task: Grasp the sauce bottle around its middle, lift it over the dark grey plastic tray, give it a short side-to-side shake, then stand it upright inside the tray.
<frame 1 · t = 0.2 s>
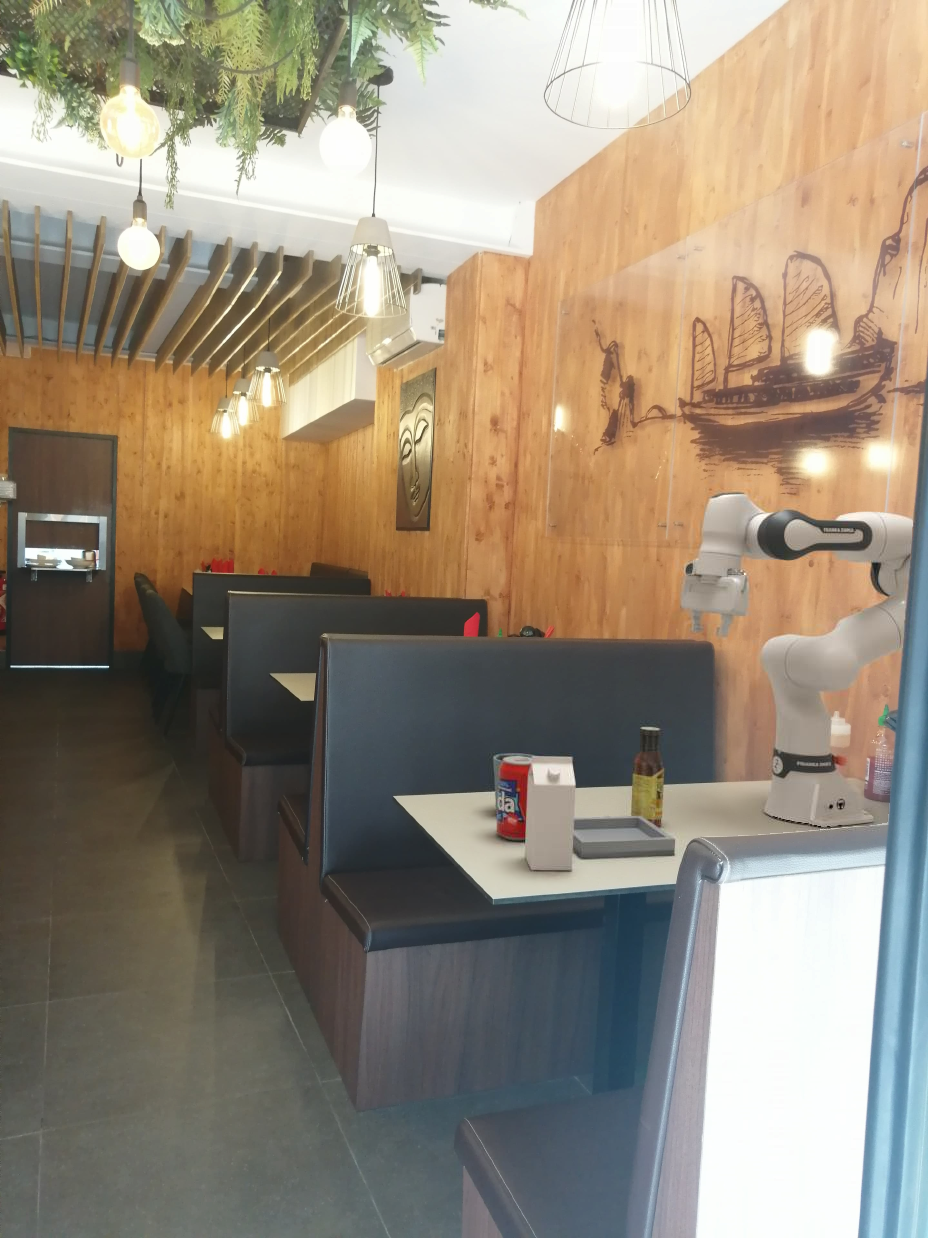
hand: (708, 634, 185), 39 cm above the table, tool pointing down, fingers open, 8 cm apart
sauce bottle: (645, 825, 182), on the table
milk carton: (547, 865, 155), on the table
blue gray cup: (515, 815, 186), on the table
tray: (612, 844, 168), on the table
soda can: (516, 837, 170), on the table
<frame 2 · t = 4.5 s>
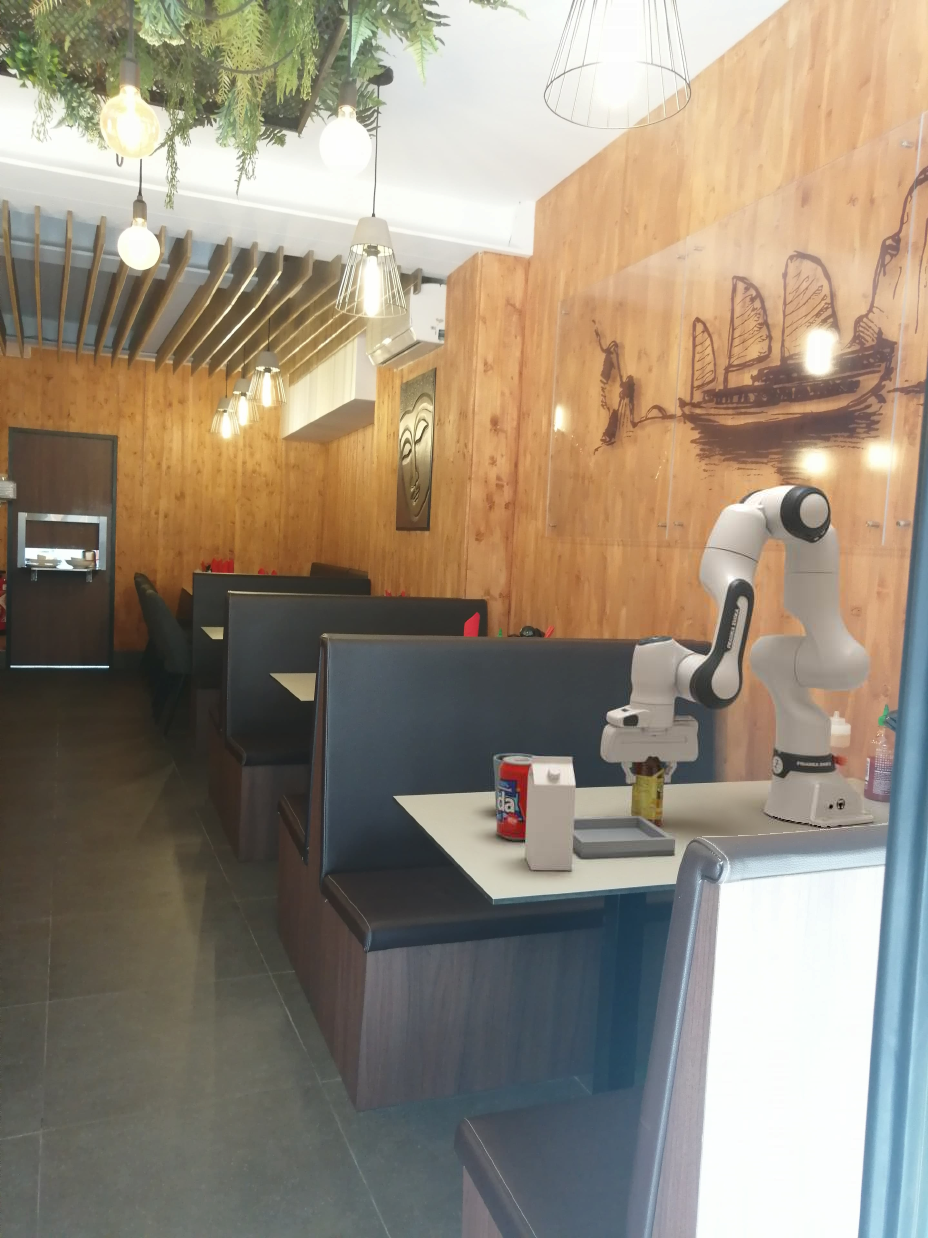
hand: (648, 783, 181), 9 cm above the table, tool pointing down, fingers closed on sauce bottle, 6 cm apart
sauce bottle: (646, 825, 182), on the table, touching gripper
everything else where it was.
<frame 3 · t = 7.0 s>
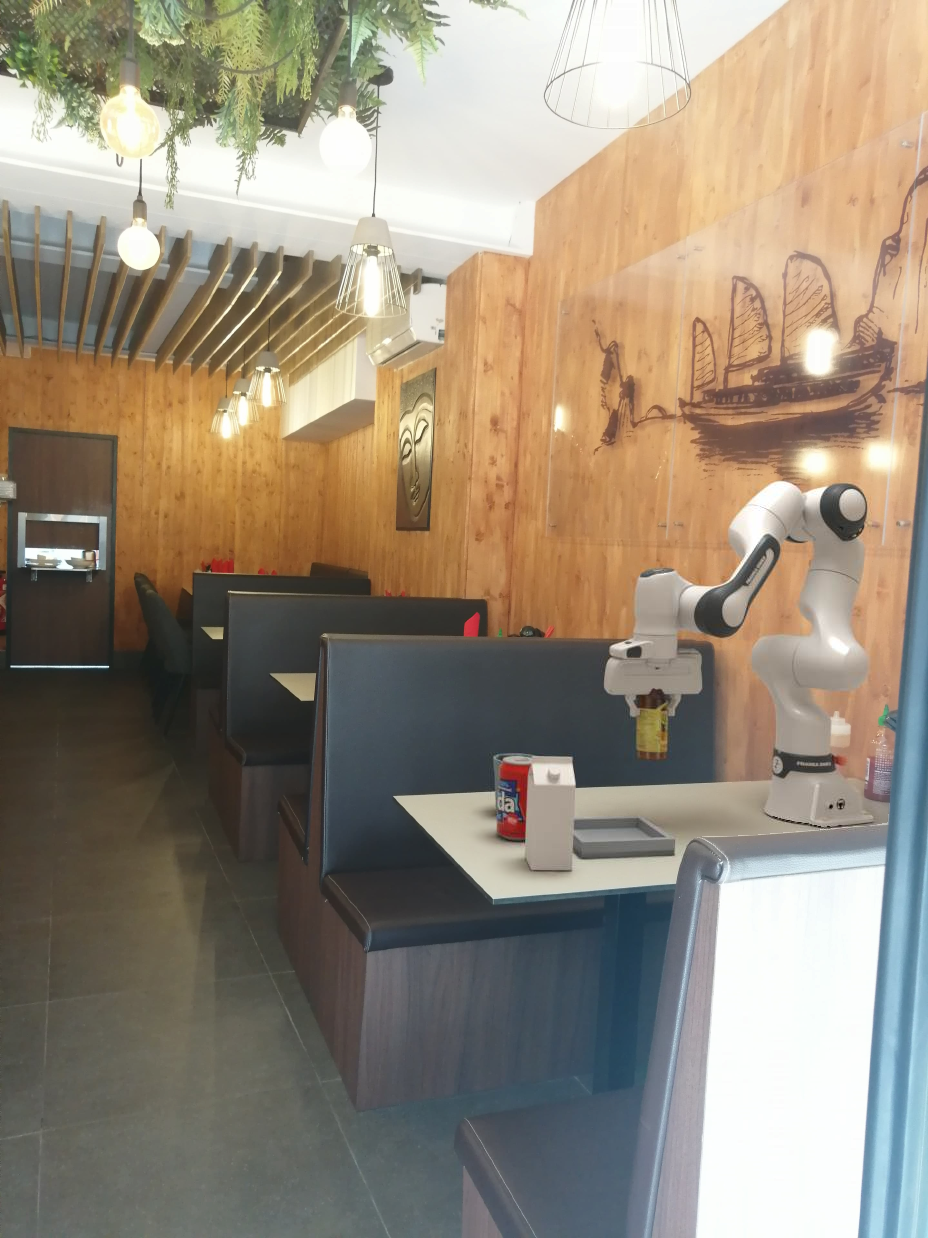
hand: (652, 716, 180), 22 cm above the table, tool pointing down, fingers closed on sauce bottle, 6 cm apart
sauce bottle: (651, 759, 181), point 13 cm above the table, touching gripper
everything else where it was.
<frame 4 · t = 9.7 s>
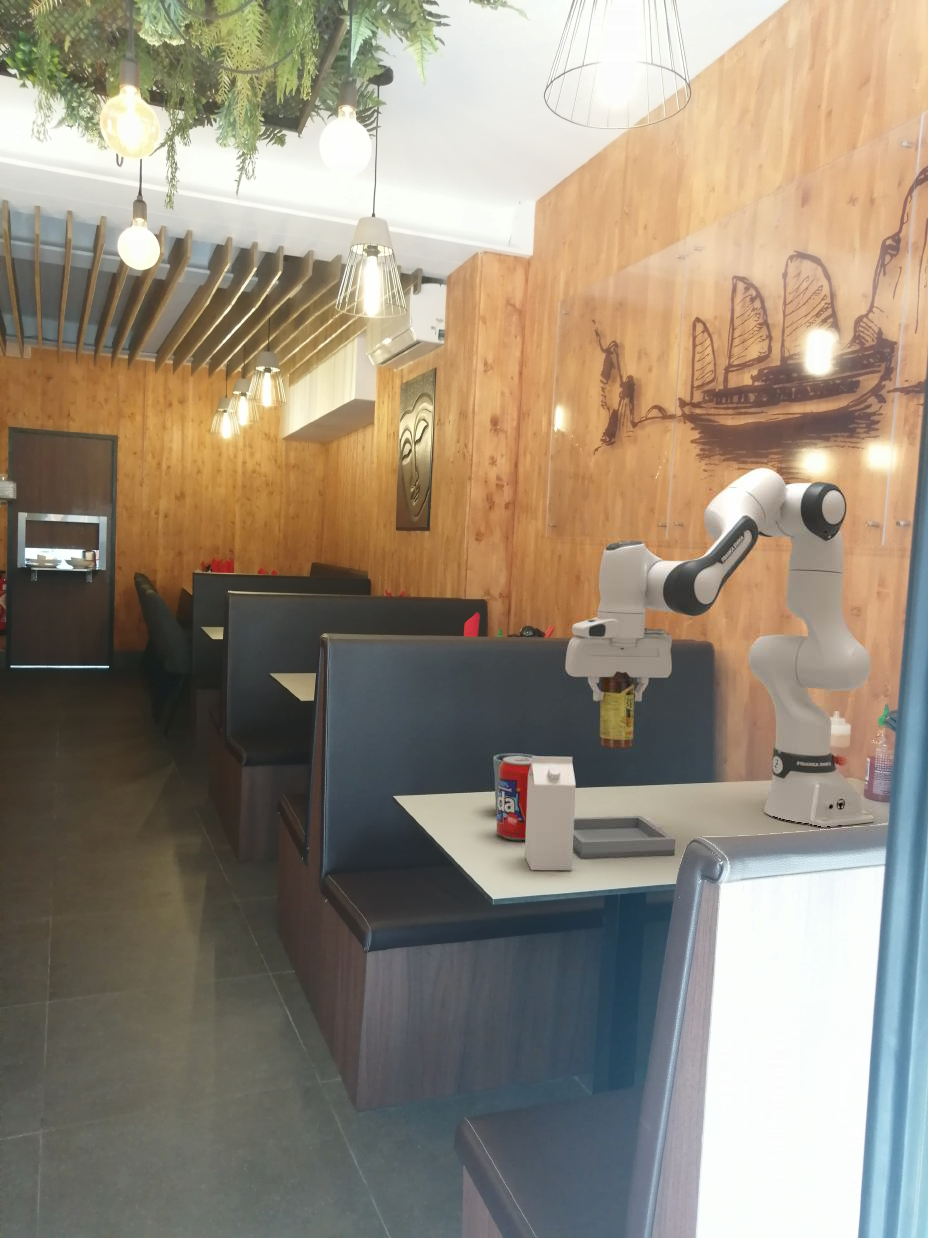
hand: (617, 700, 167), 27 cm above the table, tool pointing down, fingers closed on sauce bottle, 6 cm apart
sauce bottle: (616, 747, 168), point 18 cm above the table, touching gripper
everything else where it was.
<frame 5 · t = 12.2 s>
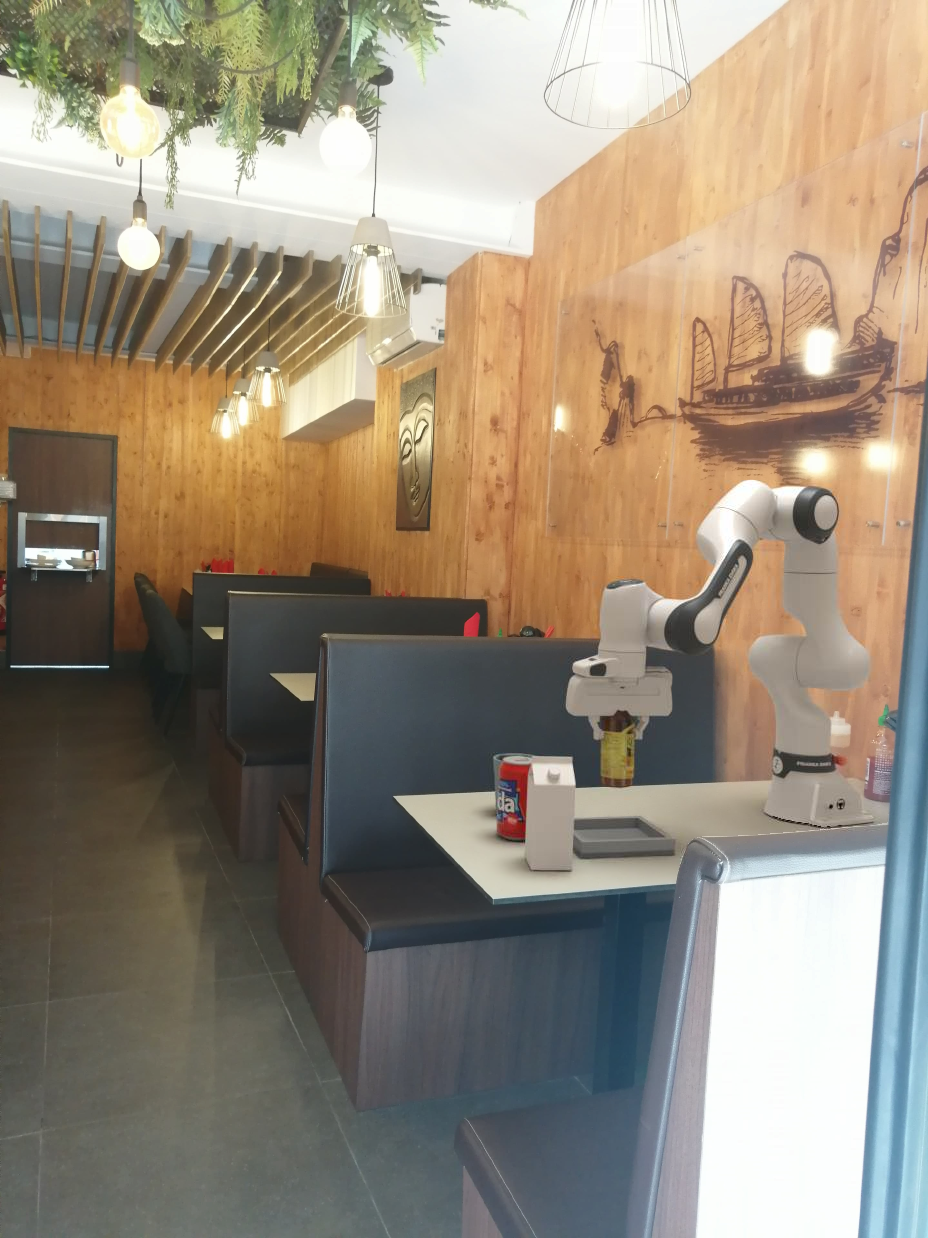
hand: (617, 739, 166), 20 cm above the table, tool pointing down, fingers closed on sauce bottle, 6 cm apart
sauce bottle: (616, 786, 167), point 11 cm above the table, touching gripper
everything else where it was.
when the fingers open (11 cm above the table, at t = 14.7 s): sauce bottle stays where it is, resting on tray.
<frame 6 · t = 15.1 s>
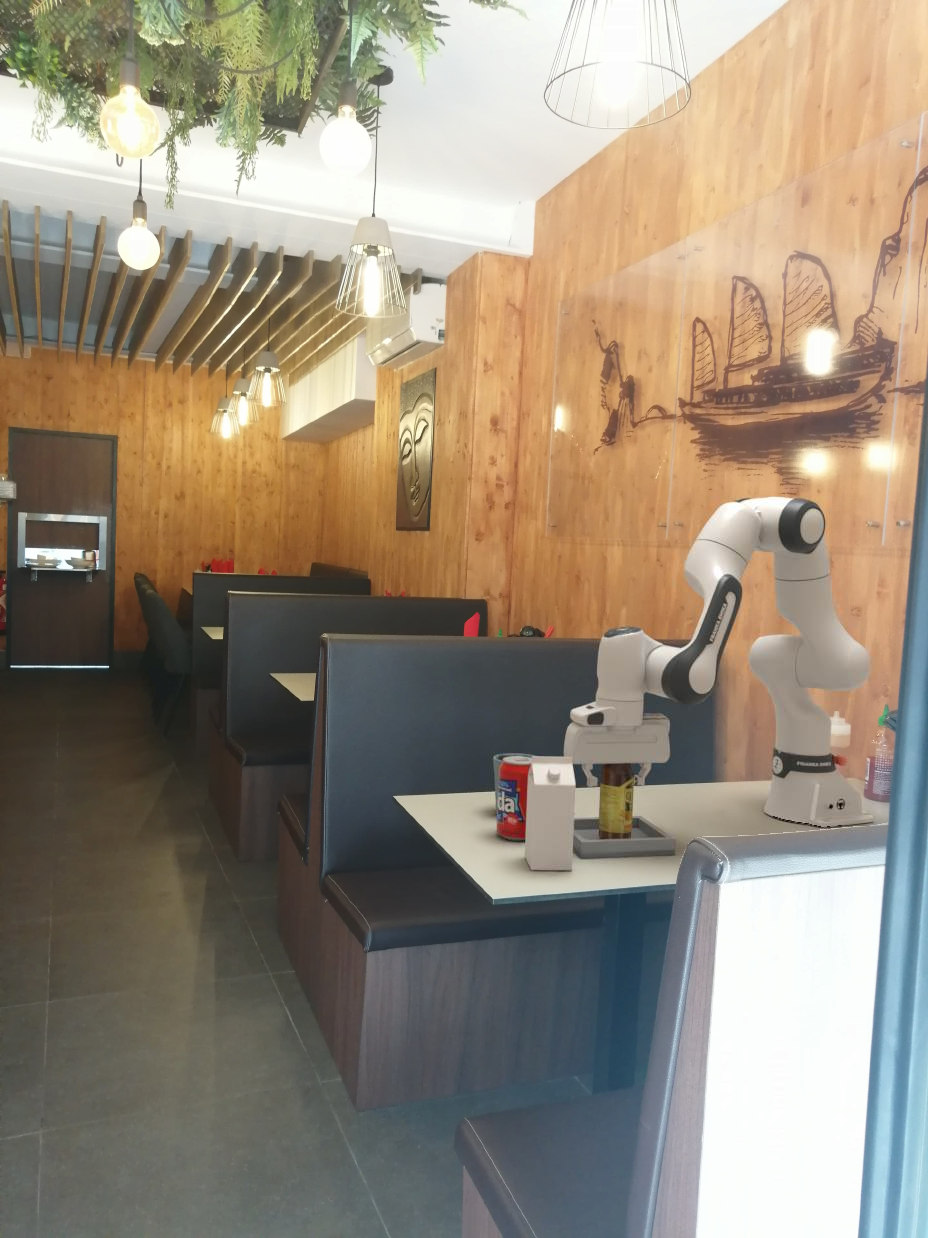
hand: (615, 786, 167), 11 cm above the table, tool pointing down, fingers open, 8 cm apart
sauce bottle: (614, 839, 168), point 1 cm above the table, touching tray
everything else where it was.
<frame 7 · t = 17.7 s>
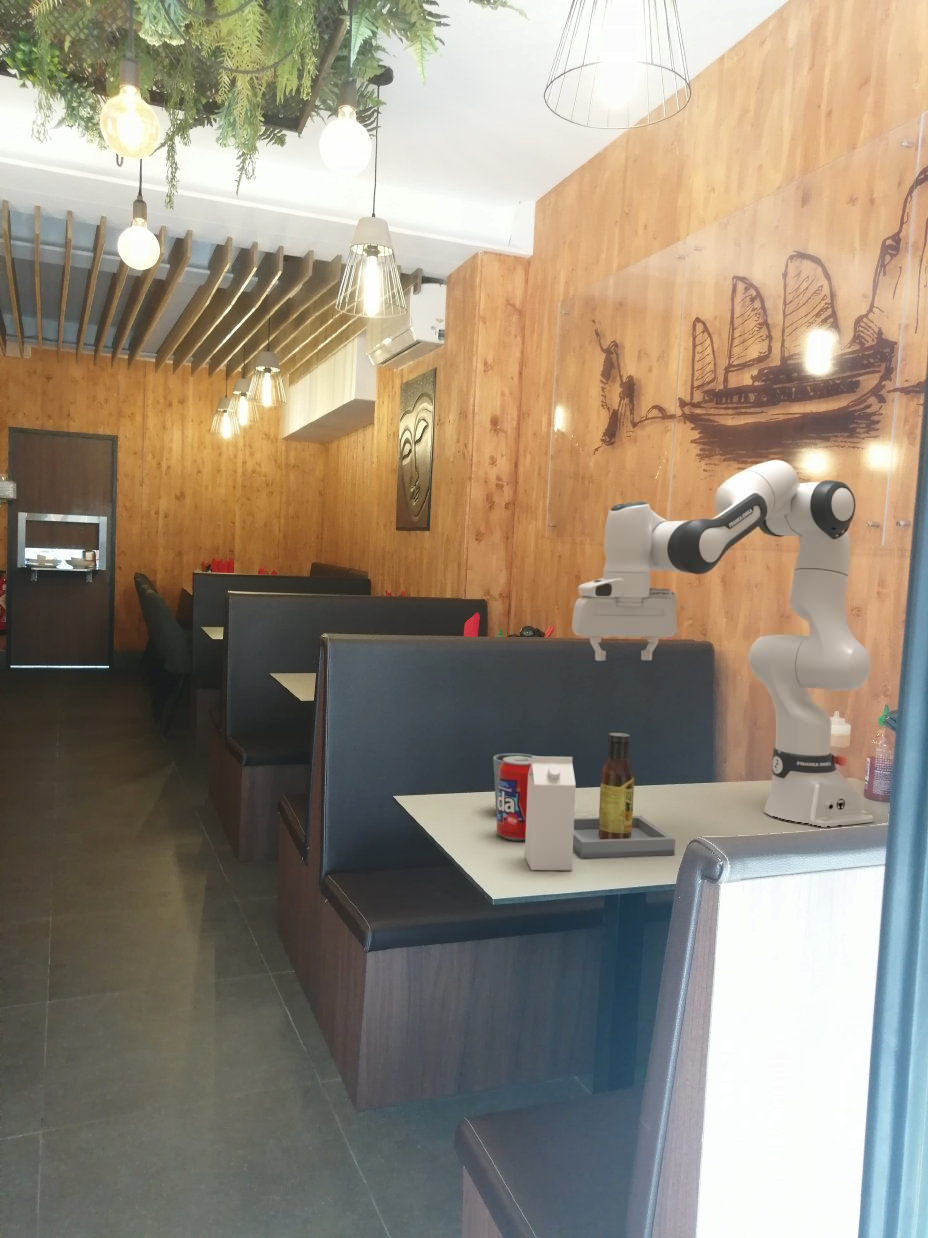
hand: (623, 660, 169), 35 cm above the table, tool pointing down, fingers open, 8 cm apart
nothing on the table moved.
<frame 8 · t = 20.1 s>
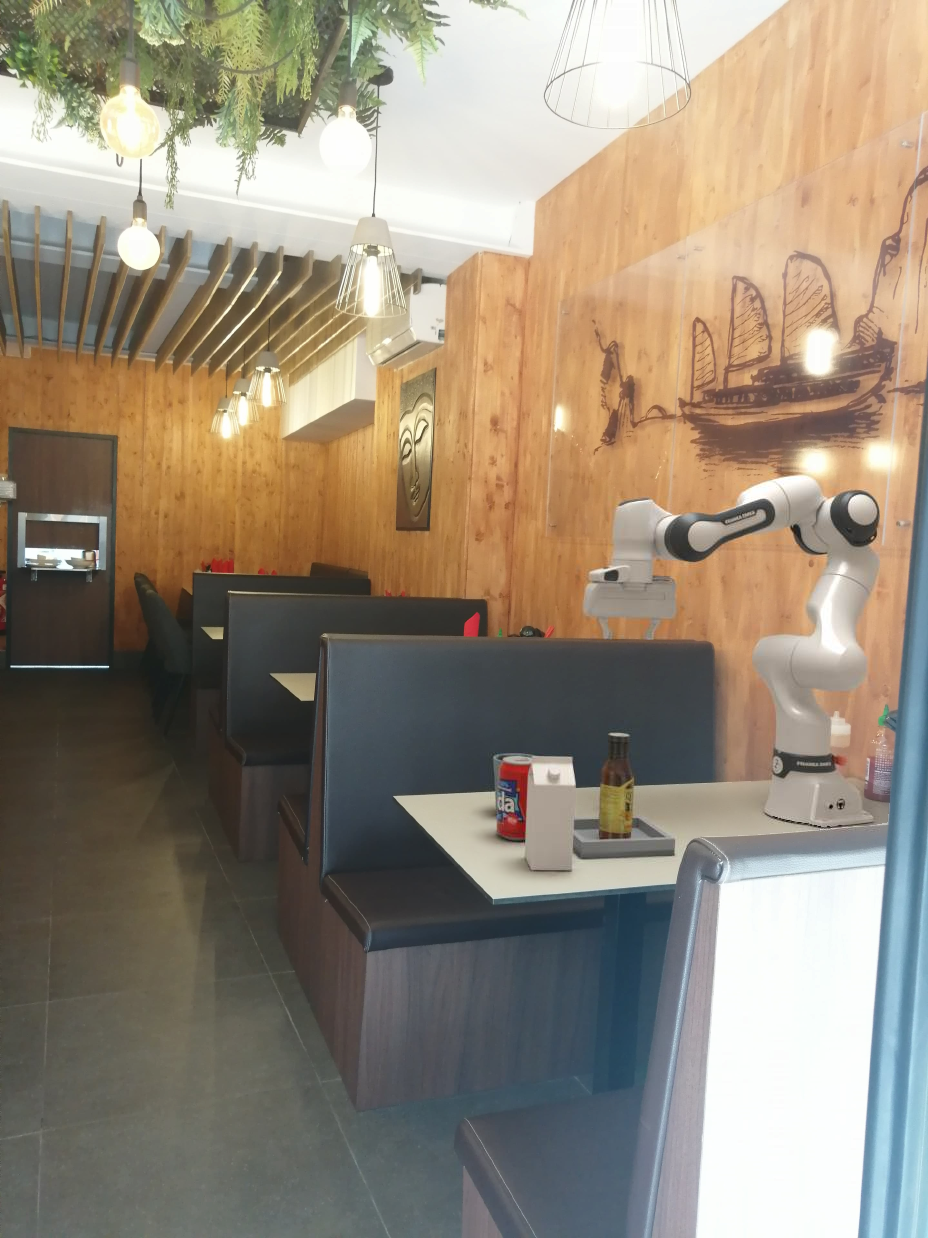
hand: (628, 639, 190), 37 cm above the table, tool pointing down, fingers open, 8 cm apart
nothing on the table moved.
at the end: sauce bottle inside the target area on the tray (0.4 cm from its centre), point 0.8 cm above the tray's base; sauce bottle tilted 0°; the gripper is holding nothing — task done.
